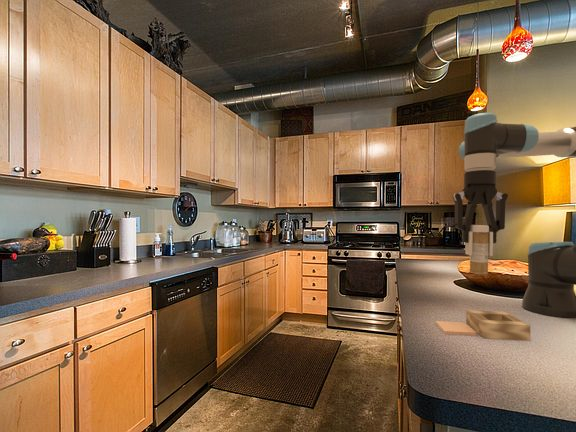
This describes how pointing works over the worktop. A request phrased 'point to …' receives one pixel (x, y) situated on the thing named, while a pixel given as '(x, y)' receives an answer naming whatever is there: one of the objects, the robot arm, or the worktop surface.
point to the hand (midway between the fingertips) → (478, 254)
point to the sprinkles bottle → (479, 249)
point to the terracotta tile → (455, 328)
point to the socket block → (498, 325)
